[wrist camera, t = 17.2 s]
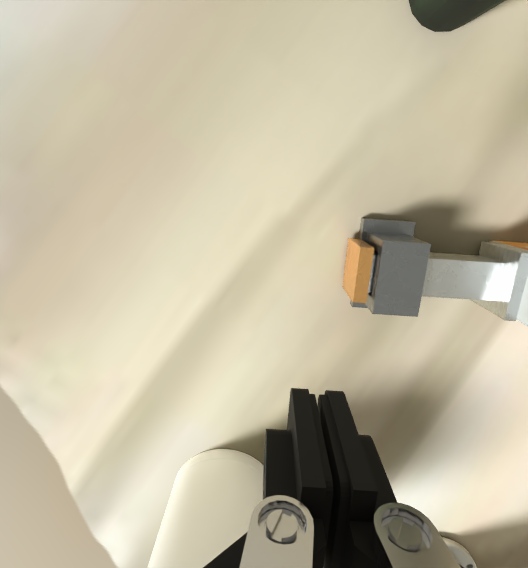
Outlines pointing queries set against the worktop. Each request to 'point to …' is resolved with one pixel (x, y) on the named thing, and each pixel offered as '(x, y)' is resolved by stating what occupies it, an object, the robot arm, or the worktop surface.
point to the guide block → (395, 266)
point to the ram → (452, 276)
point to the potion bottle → (449, 12)
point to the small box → (527, 305)
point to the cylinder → (208, 508)
